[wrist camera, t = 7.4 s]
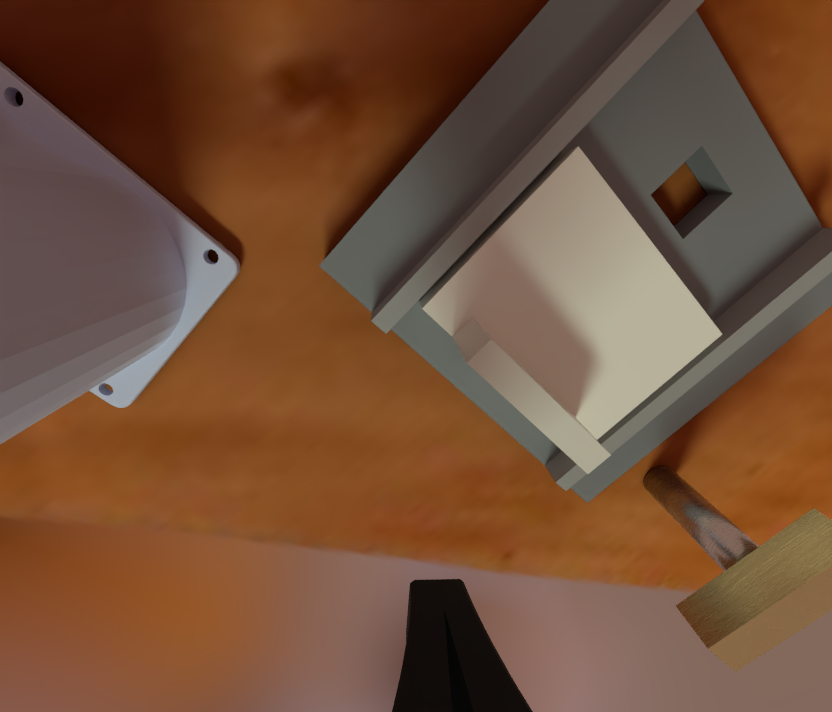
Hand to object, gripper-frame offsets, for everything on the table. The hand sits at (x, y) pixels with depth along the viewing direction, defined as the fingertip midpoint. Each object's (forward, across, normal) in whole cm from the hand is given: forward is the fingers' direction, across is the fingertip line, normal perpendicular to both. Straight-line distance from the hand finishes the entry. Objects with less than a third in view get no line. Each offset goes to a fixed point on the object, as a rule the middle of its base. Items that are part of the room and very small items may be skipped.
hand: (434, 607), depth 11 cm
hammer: (+8, -13, +2) cm, 15 cm away
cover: (+7, -5, -6) cm, 11 cm away
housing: (+8, -7, -8) cm, 13 cm away
